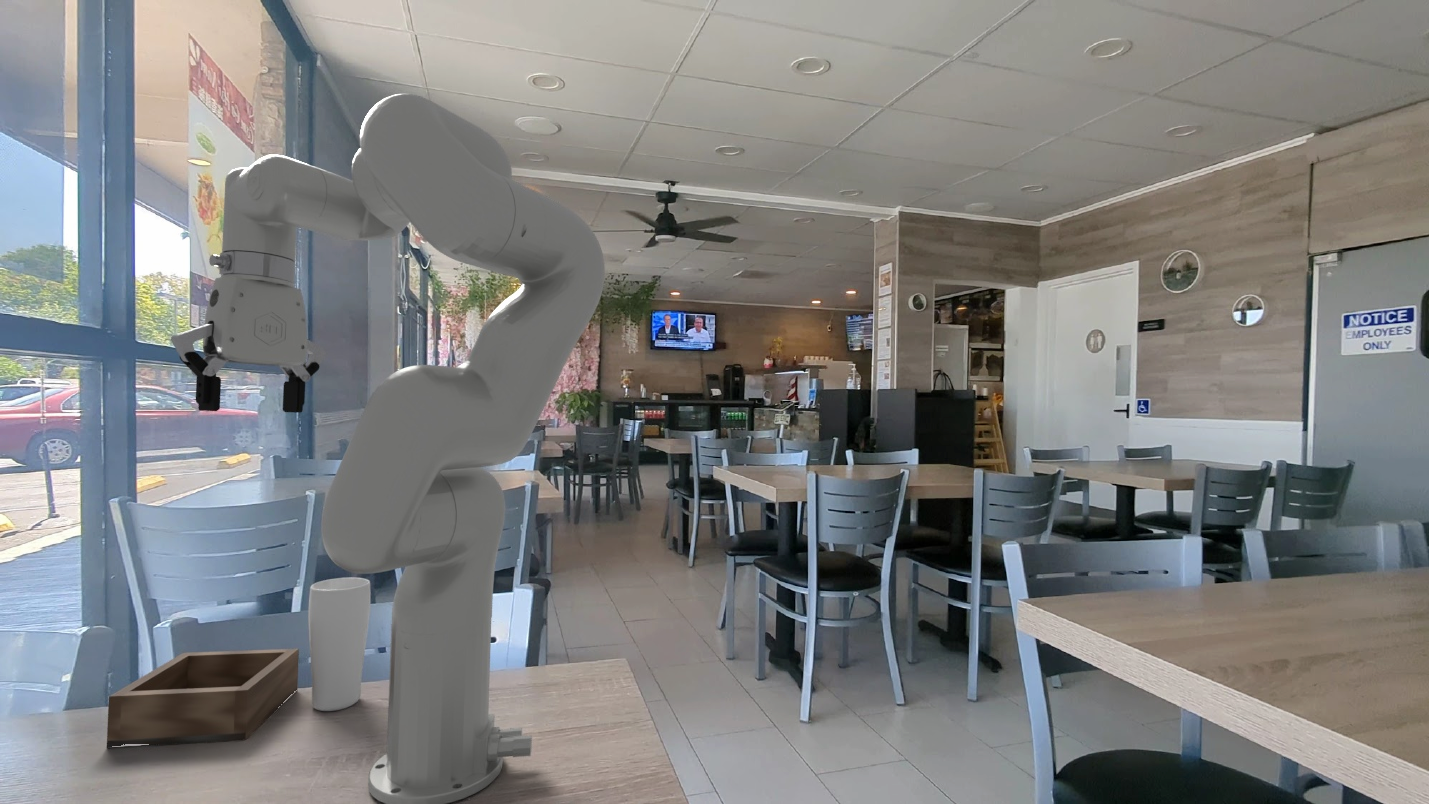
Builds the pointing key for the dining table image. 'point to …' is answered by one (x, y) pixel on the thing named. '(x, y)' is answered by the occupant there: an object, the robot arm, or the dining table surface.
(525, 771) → the dining table surface
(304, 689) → the dining table surface
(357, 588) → the drinking glass
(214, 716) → the caddy
